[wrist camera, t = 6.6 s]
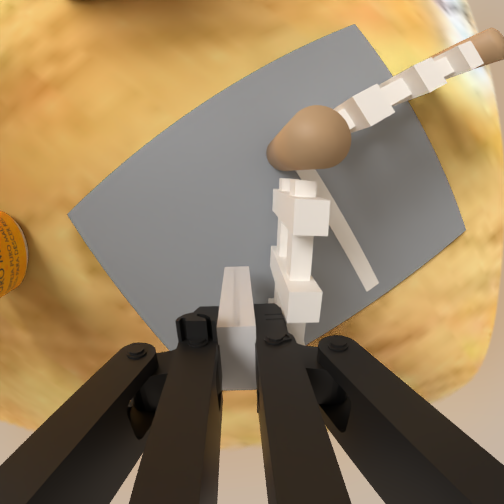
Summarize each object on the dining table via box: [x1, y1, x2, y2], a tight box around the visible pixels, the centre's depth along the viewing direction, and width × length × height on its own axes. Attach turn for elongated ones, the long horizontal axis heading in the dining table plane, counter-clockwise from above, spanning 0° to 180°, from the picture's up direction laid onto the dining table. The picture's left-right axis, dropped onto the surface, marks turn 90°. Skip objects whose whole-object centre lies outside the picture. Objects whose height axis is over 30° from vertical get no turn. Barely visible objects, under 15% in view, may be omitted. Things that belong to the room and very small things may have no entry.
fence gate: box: [268, 178, 330, 346], centre depth 14 cm, size 9×1×7 cm, turn 178°
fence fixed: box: [266, 28, 504, 171], centre depth 12 cm, size 13×2×8 cm, turn 124°
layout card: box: [67, 24, 466, 390], centre depth 17 cm, size 22×16×1 cm
